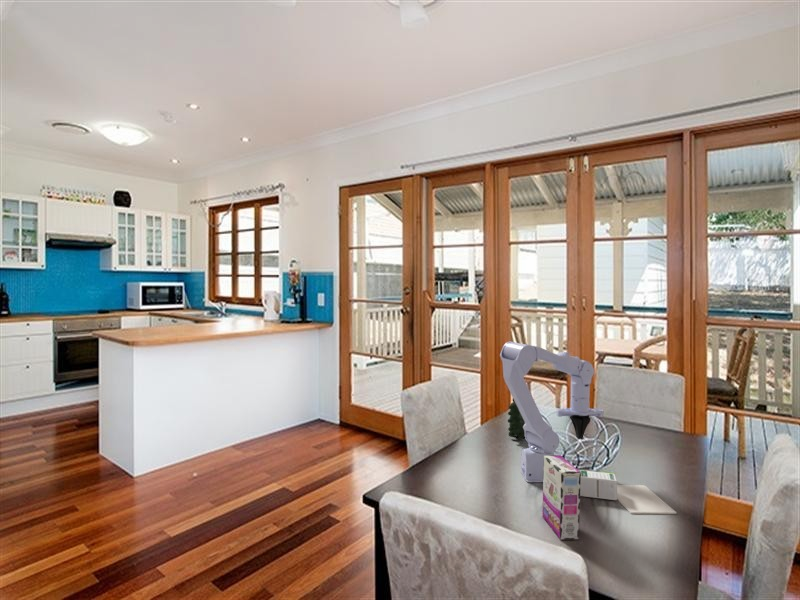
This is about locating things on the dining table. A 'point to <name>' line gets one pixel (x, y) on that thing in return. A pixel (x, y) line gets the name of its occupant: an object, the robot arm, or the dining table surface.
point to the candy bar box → (561, 497)
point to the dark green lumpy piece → (515, 421)
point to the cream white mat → (641, 500)
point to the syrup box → (598, 484)
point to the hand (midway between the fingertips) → (579, 437)
